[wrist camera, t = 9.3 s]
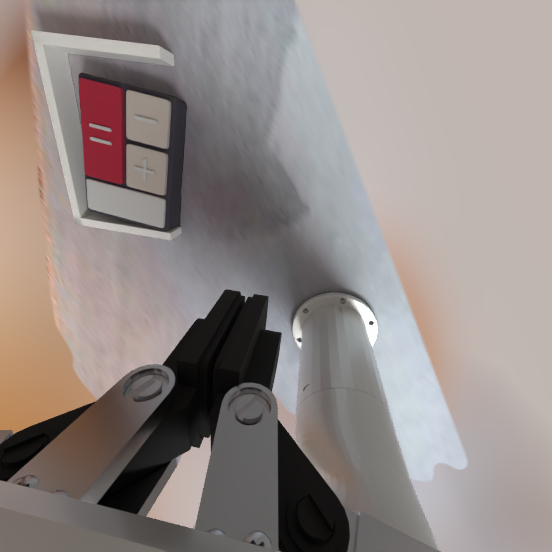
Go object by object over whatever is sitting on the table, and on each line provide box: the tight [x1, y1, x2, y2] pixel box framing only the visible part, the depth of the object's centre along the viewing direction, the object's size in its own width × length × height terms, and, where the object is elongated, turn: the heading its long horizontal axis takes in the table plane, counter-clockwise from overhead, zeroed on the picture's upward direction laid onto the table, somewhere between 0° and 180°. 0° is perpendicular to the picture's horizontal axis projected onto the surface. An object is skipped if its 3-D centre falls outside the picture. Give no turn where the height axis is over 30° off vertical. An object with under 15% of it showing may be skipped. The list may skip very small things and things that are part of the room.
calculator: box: [79, 73, 187, 231], centre depth 32 cm, size 11×4×15 cm
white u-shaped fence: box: [31, 30, 181, 240], centre depth 32 cm, size 20×14×3 cm
